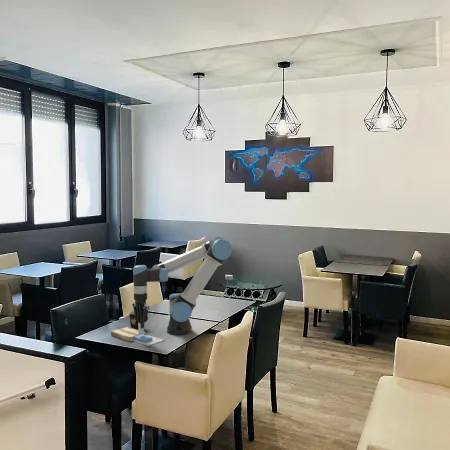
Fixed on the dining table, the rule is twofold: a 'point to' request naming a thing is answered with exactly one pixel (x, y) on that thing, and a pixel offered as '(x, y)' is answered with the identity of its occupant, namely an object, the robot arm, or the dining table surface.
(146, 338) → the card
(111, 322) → the dining table surface
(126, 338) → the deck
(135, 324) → the coffee mug
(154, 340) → the mat
